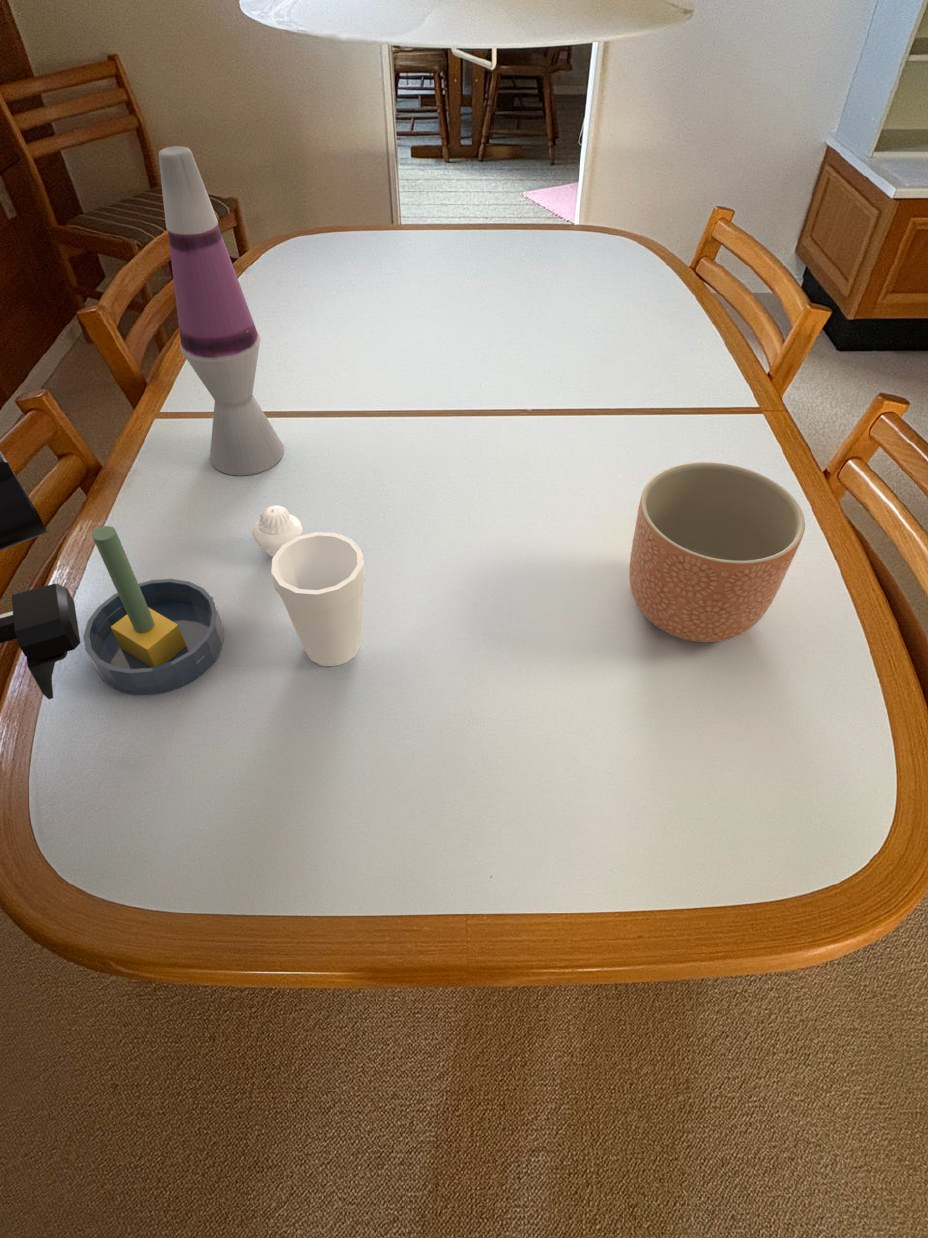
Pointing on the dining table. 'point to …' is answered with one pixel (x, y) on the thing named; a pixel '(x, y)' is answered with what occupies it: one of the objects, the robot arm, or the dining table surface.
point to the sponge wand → (136, 608)
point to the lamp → (215, 320)
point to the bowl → (174, 603)
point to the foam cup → (322, 594)
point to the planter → (711, 549)
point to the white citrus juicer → (276, 529)
